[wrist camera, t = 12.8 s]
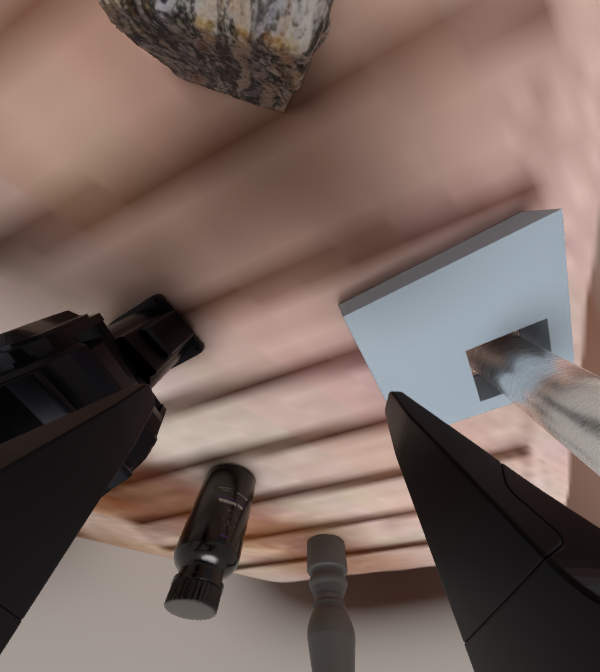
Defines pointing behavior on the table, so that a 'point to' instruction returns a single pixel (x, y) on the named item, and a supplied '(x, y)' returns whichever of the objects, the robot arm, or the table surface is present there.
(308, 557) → the candle holder
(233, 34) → the stone block
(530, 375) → the polished metal rod
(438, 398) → the jig plate
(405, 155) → the table surface
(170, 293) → the table surface
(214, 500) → the supplement bottle
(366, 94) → the table surface
